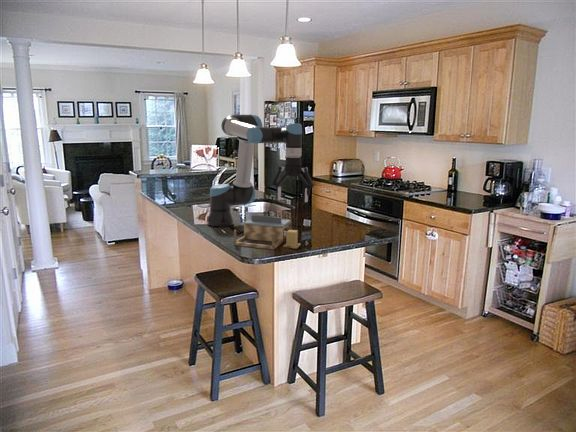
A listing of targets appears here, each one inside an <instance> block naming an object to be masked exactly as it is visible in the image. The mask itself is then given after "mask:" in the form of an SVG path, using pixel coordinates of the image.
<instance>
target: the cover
mask: <svg viewBox="0 0 576 432" xmlns="http://www.w3.org/2000/svg"><path fill="white" fill-rule="evenodd" d="M289 222H291V223H292V220H291V219H284V218H283V219H282V217H281V216H271V215H256V214H252V215H251V218H250V219H248V220H246V221H244V222H243V225H244V224H249V225H260V226H271V227H284V226H285V225H287V224H288V223H289Z"/></svg>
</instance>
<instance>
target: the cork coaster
mask: <svg viewBox="0 0 576 432" xmlns="http://www.w3.org/2000/svg"><path fill="white" fill-rule="evenodd" d="M301 245H302V243H297V245H296V246H286V243H285V244H284V245H283V246H282V247H283V248H288V249H298V248H300V246H301Z"/></svg>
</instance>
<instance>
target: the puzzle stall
mask: <svg viewBox="0 0 576 432" xmlns="http://www.w3.org/2000/svg"><path fill="white" fill-rule="evenodd" d="M287 227H288V230H292V221H291V222H289V223H288V224H287V225H285V226H284V227H273V226H262V225H250V224H244V223H243V236H241V237H240V238H238V239H237V229H234V230H233V245H234V246H239V247H240V246H241V247H248V248H249V247H250V248H258V249H268V250H275V249H276V248H278V247H279V246H280V245H281V244H283V242H284V230H285V229H286V228H287ZM245 240H254V241H255V240H256V241H264V242H265V241H266V242H271V244H270V245H269V244H262V243H250V242H244V241H245Z"/></svg>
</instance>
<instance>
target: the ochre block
mask: <svg viewBox="0 0 576 432" xmlns="http://www.w3.org/2000/svg"><path fill="white" fill-rule="evenodd" d="M298 233H299V231H298V230H297V229H291V230H289V229H288V230H287V231H286V241H285V242H286V243H285V244H286V246H296V245H297V243H298V241H299V240H298V236H299V235H298Z"/></svg>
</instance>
